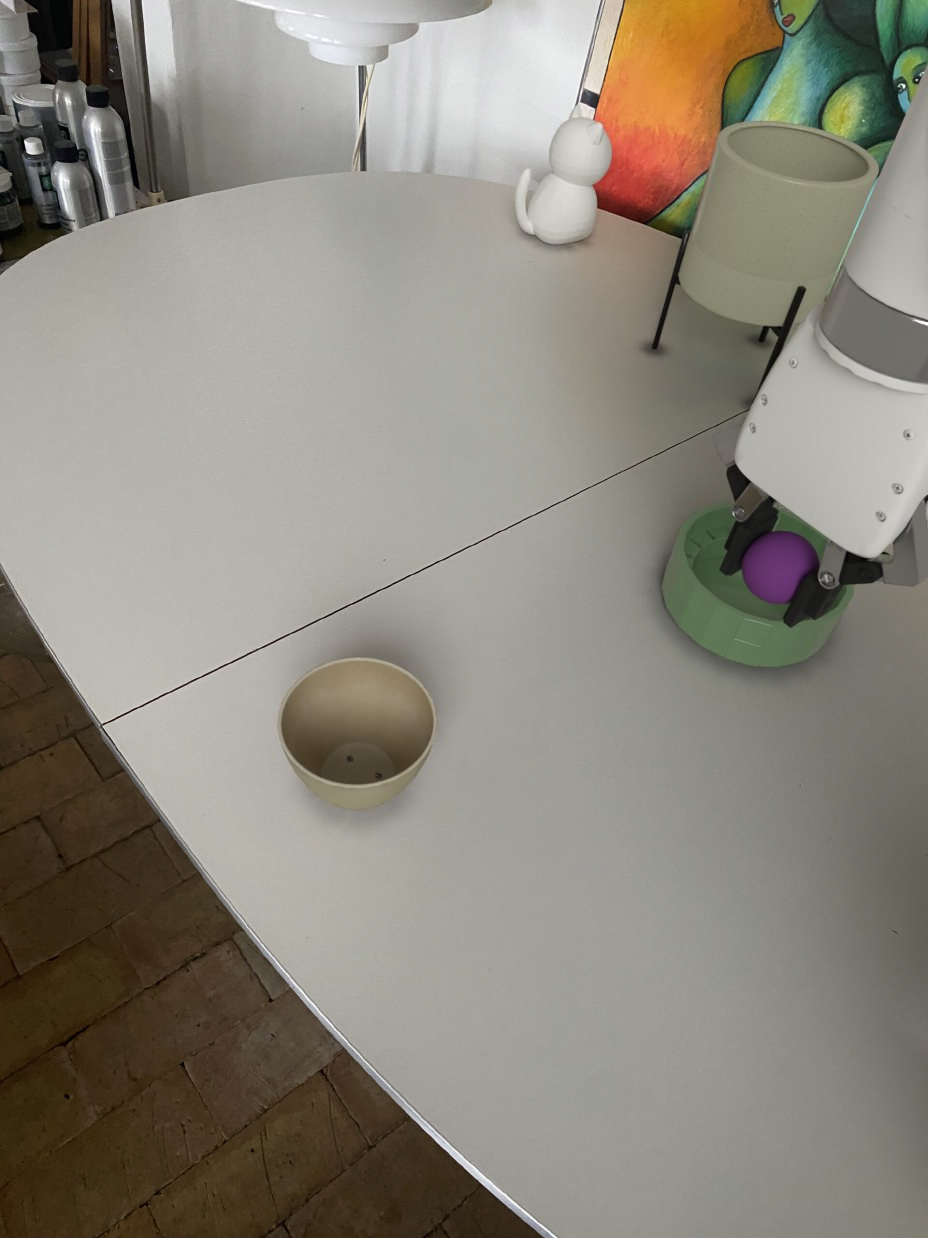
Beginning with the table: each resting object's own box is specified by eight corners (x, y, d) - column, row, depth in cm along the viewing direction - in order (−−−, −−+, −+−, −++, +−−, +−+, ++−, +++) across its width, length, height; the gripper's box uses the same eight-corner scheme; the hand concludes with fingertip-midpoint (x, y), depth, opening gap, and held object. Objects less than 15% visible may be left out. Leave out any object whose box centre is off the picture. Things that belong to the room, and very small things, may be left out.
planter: (659, 315, 106) (717, 107, 88) (791, 344, 104) (876, 137, 86) (642, 382, 96) (704, 162, 78) (787, 416, 94) (883, 198, 77)
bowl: (860, 624, 74) (889, 580, 70) (752, 699, 68) (776, 655, 64) (735, 527, 81) (755, 481, 77) (626, 586, 75) (641, 540, 71)
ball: (817, 600, 54) (847, 549, 50) (772, 630, 52) (800, 579, 48) (762, 557, 56) (787, 505, 53) (717, 584, 54) (740, 532, 51)
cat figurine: (609, 246, 116) (635, 125, 105) (525, 256, 113) (543, 132, 101) (578, 216, 122) (600, 98, 110) (497, 225, 118) (511, 103, 107)
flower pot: (440, 834, 58) (448, 778, 53) (287, 851, 56) (279, 795, 51) (420, 711, 64) (426, 650, 59) (283, 723, 63) (275, 661, 57)
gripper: (1123, 389, 38) (919, 652, 51) (811, 225, 46) (707, 491, 59) (1037, 446, 34) (843, 712, 48) (717, 258, 42) (630, 532, 56)
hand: (769, 587), depth 54 cm, fingers closed on ball, 4 cm apart
